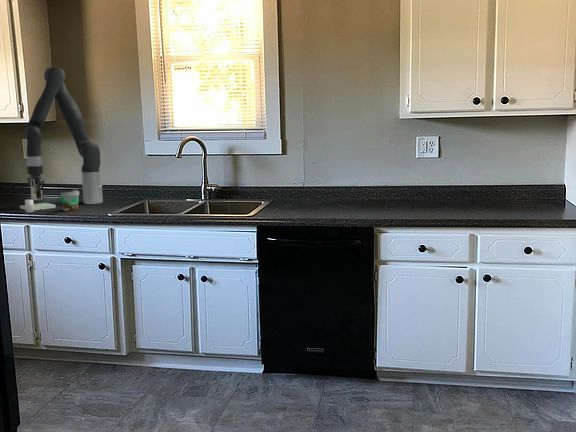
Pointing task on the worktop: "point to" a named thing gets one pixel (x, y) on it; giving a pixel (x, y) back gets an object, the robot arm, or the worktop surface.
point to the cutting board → (40, 206)
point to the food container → (70, 200)
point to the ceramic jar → (29, 205)
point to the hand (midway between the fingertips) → (36, 197)
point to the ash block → (34, 193)
